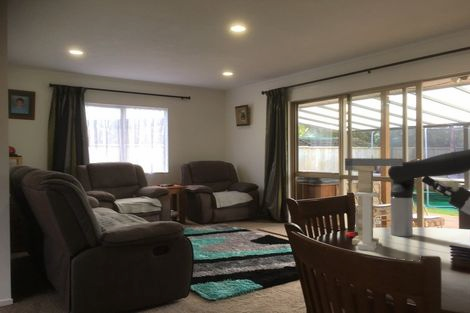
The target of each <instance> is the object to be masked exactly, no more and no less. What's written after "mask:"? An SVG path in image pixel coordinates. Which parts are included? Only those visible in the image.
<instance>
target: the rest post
mask: <svg viewBox="0 0 470 313" xmlns="http://www.w3.org/2000/svg"><path fill="white" fill-rule="evenodd" d="M358 196H362V241H360V242H359V243H358V244H357V245H356V246H357V250H360V251H369V252H375V250H376V249H377V246H376V243H375V242H372V197H373V198H378V197H379V196H380V192H373V193H367V192H358V191H357V192H354V197H358Z"/></svg>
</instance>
